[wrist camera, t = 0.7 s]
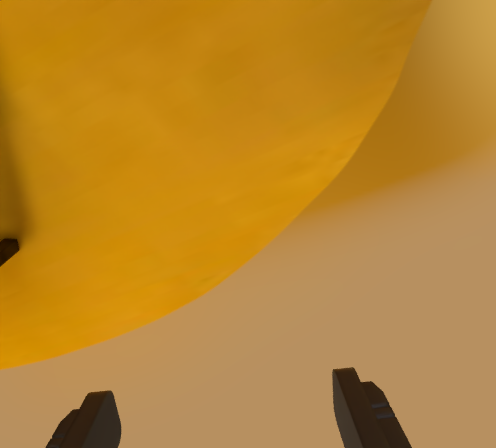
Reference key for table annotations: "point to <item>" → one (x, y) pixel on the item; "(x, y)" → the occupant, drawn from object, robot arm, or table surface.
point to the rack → (8, 249)
